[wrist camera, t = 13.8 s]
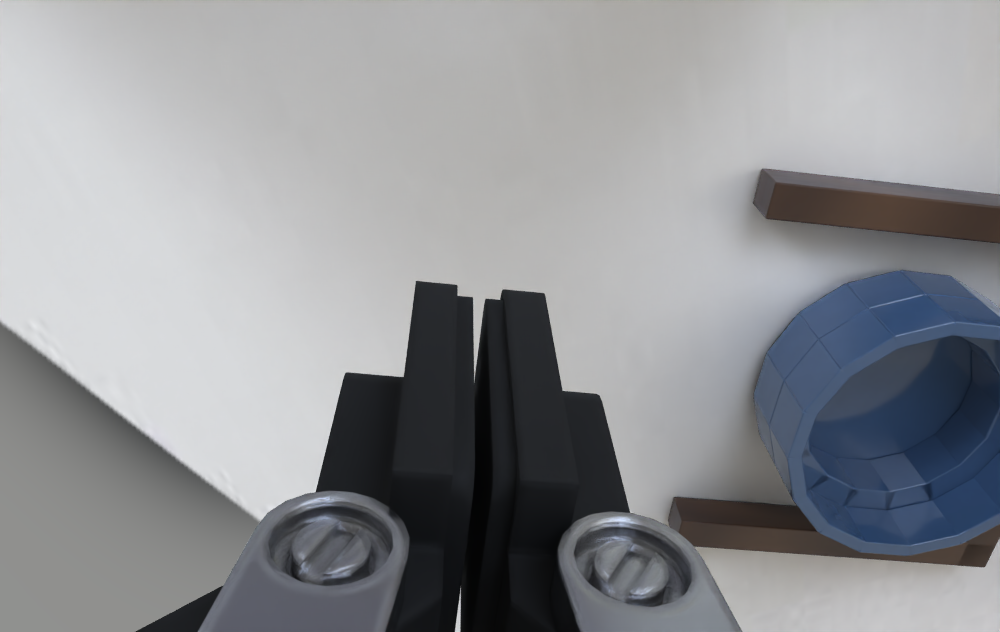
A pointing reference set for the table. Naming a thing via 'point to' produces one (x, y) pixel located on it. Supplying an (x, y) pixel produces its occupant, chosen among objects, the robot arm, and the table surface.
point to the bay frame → (864, 210)
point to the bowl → (889, 413)
